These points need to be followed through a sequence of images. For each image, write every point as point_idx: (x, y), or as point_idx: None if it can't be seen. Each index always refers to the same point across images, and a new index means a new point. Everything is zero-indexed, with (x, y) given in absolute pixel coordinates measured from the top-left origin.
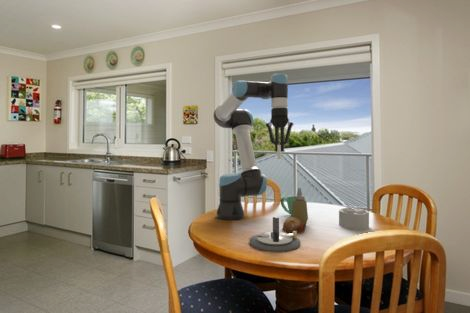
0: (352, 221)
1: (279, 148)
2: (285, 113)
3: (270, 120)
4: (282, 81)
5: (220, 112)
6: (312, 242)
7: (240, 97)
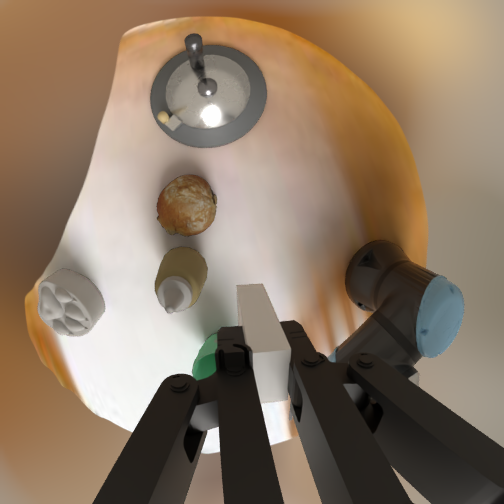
0: (64, 277)
1: (257, 327)
2: None
3: None
4: None
5: None
6: (129, 132)
7: None
